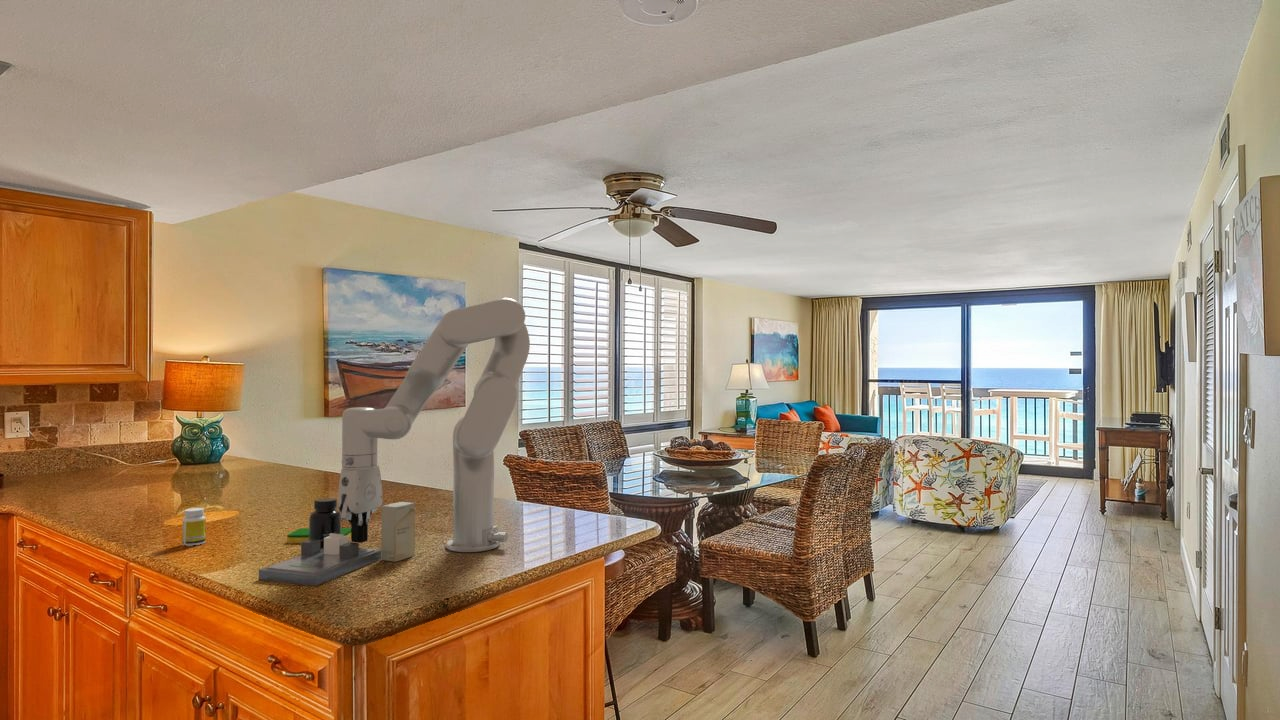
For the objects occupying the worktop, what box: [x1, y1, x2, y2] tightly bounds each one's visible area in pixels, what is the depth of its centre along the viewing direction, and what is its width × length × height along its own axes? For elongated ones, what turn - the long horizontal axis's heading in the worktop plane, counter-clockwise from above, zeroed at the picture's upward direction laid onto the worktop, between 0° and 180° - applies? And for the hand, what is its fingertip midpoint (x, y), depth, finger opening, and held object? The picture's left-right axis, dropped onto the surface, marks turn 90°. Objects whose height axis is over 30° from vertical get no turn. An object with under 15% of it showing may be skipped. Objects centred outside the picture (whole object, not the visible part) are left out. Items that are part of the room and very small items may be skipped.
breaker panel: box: [258, 539, 381, 587], centre depth 148 cm, size 14×20×5 cm
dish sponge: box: [286, 527, 351, 544], centre depth 174 cm, size 7×14×2 cm, turn 93°
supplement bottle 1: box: [182, 507, 207, 547], centre depth 169 cm, size 5×5×8 cm
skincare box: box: [380, 501, 416, 563], centre depth 157 cm, size 6×4×12 cm
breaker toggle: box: [324, 533, 350, 555], centre depth 152 cm, size 4×3×4 cm
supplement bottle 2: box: [308, 497, 342, 549], centre depth 163 cm, size 7×7×12 cm
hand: (359, 541), depth 159 cm, fingers closed
